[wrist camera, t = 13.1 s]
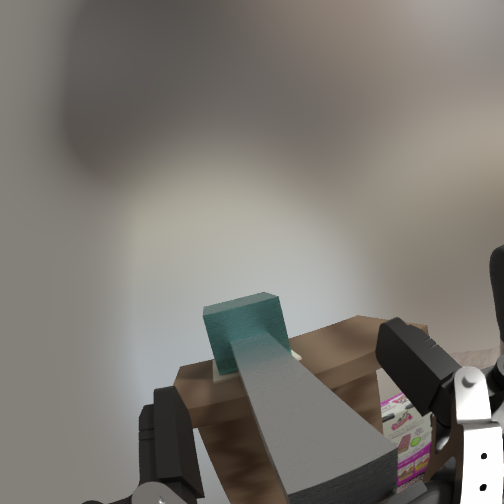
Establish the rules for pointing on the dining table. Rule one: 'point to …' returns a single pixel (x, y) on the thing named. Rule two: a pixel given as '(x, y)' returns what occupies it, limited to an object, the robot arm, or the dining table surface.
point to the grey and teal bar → (299, 411)
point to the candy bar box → (407, 436)
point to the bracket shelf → (241, 417)
